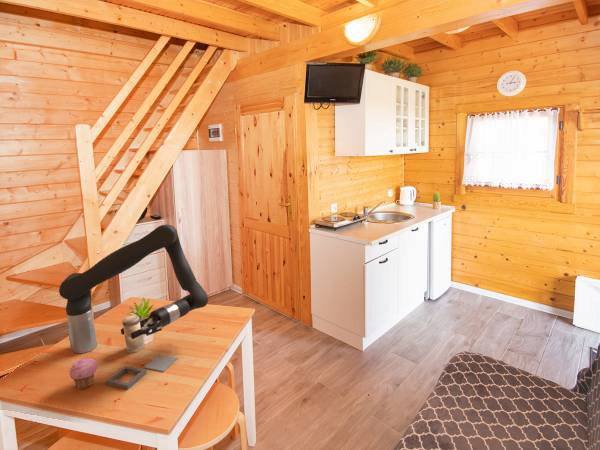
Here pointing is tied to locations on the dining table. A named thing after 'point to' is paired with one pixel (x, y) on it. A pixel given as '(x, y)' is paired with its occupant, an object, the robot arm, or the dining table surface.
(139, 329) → the robot arm
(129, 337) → the beige tall cylinder
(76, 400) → the dining table surface
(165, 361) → the mat
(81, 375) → the cupcake
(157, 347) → the dining table surface
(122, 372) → the socket collar
